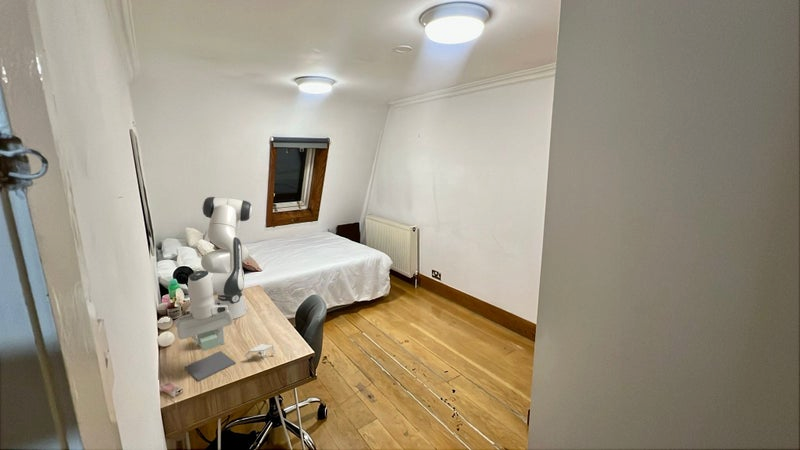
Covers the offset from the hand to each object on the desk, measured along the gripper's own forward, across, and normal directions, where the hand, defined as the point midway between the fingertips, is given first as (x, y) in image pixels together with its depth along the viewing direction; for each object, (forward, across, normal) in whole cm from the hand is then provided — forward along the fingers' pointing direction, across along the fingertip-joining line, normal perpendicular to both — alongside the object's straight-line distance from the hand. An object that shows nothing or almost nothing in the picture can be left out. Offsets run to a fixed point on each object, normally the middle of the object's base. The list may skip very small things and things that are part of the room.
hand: (207, 340), depth 143 cm
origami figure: (+12, +18, -7) cm, 23 cm away
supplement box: (+12, +6, +19) cm, 23 cm away
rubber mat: (+12, 0, 0) cm, 12 cm away
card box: (+2, 0, 0) cm, 2 cm away
